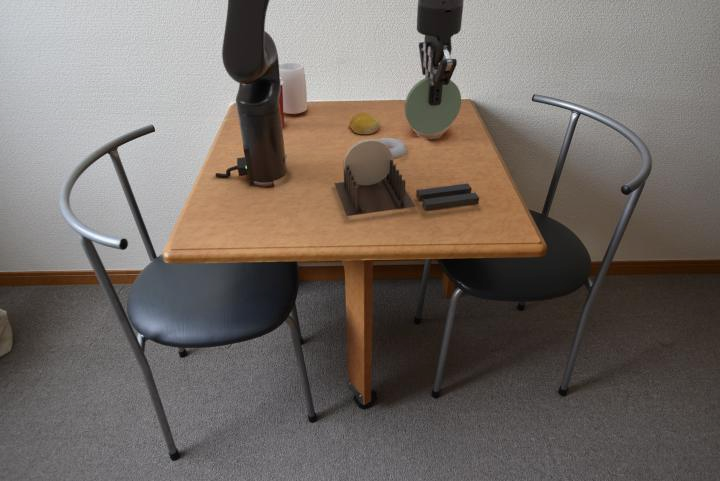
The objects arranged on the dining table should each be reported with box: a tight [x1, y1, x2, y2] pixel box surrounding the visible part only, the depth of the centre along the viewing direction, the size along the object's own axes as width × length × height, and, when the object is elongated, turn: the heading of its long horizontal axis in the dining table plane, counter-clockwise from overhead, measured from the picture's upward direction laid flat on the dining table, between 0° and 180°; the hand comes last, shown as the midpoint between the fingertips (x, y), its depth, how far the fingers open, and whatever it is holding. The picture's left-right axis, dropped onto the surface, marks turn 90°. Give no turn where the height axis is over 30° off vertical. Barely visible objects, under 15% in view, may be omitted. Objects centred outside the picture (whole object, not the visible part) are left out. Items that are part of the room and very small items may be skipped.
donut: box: [376, 137, 408, 160], centre depth 122 cm, size 10×4×10 cm
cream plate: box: [343, 138, 394, 186], centre depth 105 cm, size 11×1×11 cm, turn 103°
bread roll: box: [348, 112, 380, 135], centre depth 135 cm, size 8×9×4 cm
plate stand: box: [415, 183, 480, 212], centre depth 103 cm, size 12×6×3 cm, turn 103°
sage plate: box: [403, 77, 462, 134], centre depth 89 cm, size 11×1×11 cm, turn 103°
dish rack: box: [334, 159, 416, 217], centre depth 104 cm, size 15×14×8 cm
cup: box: [279, 61, 308, 115], centre depth 143 cm, size 8×8×14 cm
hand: (433, 103), depth 89 cm, fingers closed on sage plate, 1 cm apart
